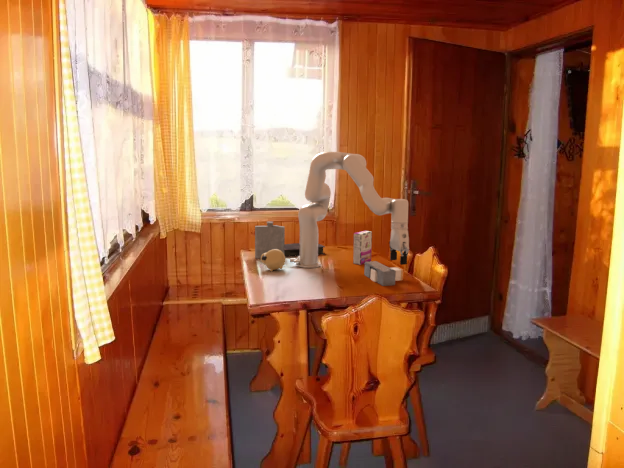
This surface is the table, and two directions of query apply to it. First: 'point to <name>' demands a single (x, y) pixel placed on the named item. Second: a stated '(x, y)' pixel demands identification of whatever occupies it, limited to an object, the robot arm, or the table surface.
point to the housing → (380, 273)
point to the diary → (298, 249)
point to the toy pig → (273, 259)
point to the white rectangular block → (398, 271)
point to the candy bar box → (362, 247)
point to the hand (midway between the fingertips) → (398, 262)
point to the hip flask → (269, 238)
